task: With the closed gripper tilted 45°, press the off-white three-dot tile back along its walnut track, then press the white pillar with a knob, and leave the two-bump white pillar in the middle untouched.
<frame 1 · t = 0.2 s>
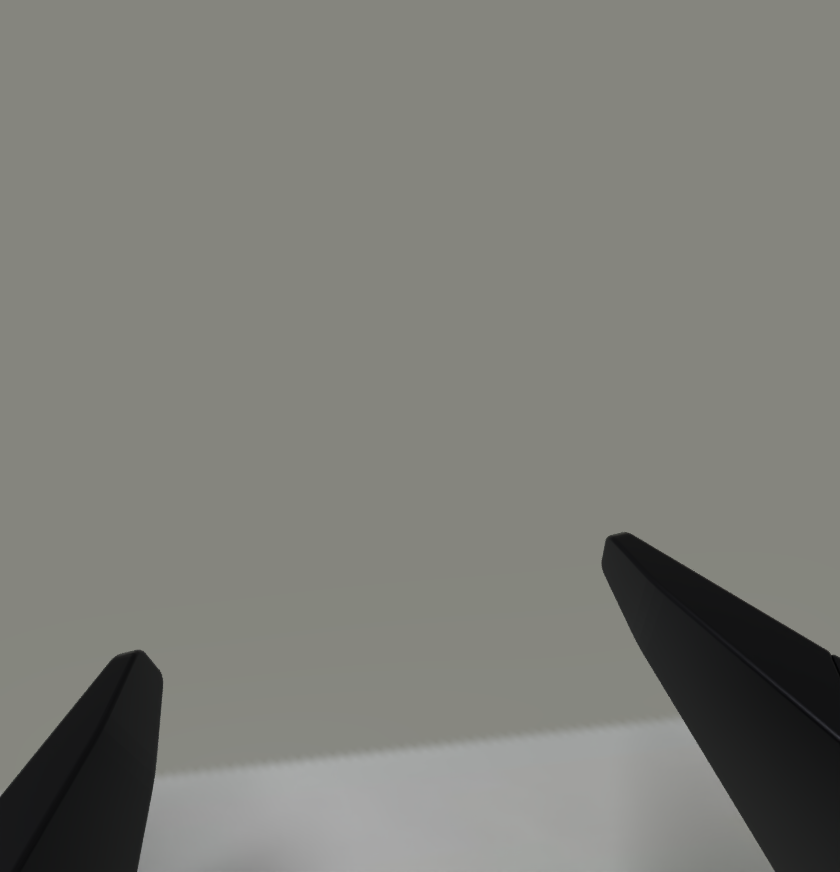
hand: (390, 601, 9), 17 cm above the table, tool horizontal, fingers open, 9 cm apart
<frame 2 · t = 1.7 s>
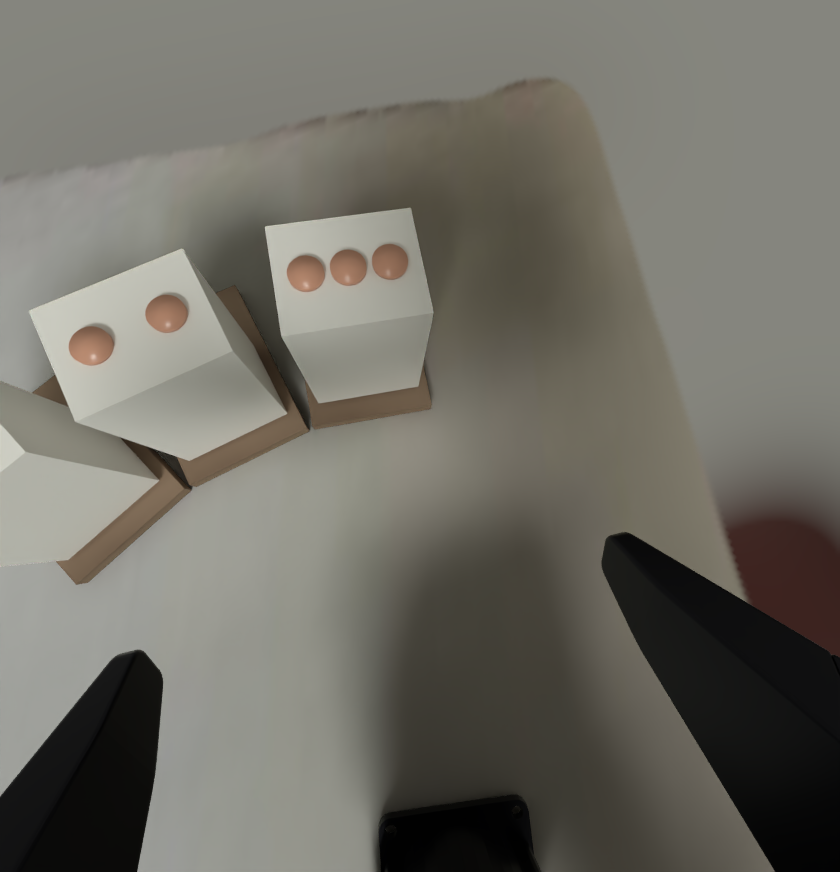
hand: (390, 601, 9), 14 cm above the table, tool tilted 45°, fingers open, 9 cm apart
white pillar with knob: (15, 478, 17), point 5 cm above the table, slide at 0.0 cm
two-bump white pillar: (185, 372, 18), point 5 cm above the table, slide at 0.0 cm
three-dot tile: (356, 321, 19), point 5 cm above the table, slide at 0.0 cm
tile tracks: (237, 426, 23), on the table
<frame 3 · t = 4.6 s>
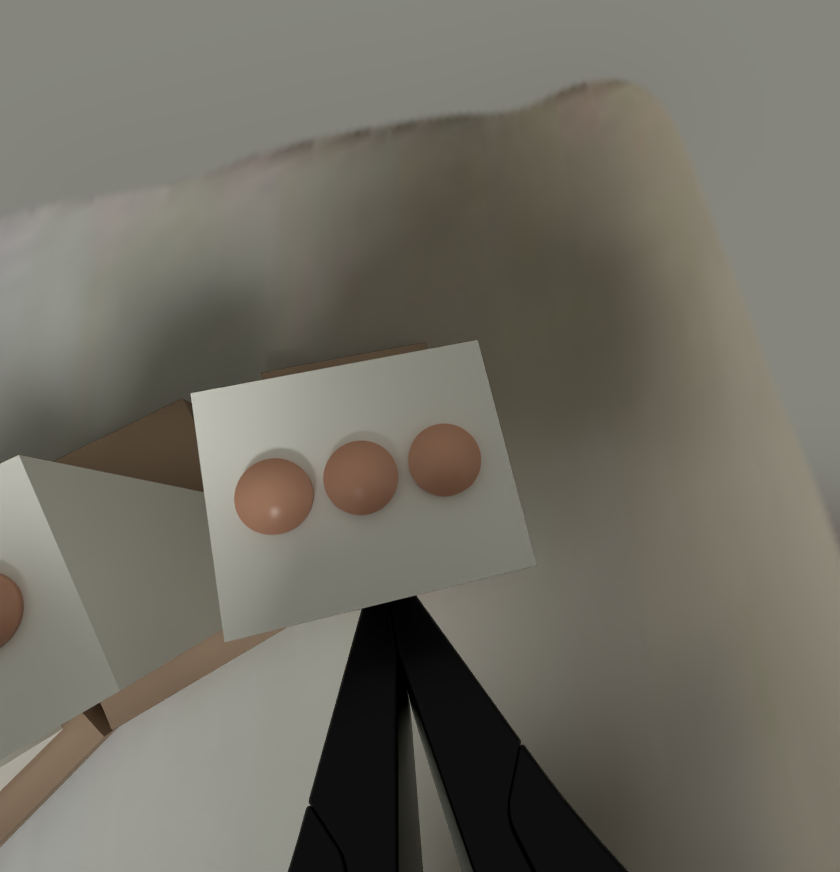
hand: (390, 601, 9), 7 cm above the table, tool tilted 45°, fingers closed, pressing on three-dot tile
two-bump white pillar: (76, 610, 10), point 5 cm above the table, slide at 0.0 cm
three-dot tile: (370, 495, 11), point 5 cm above the table, slide at 0.1 cm, touching gripper
tile tracks: (189, 616, 15), on the table
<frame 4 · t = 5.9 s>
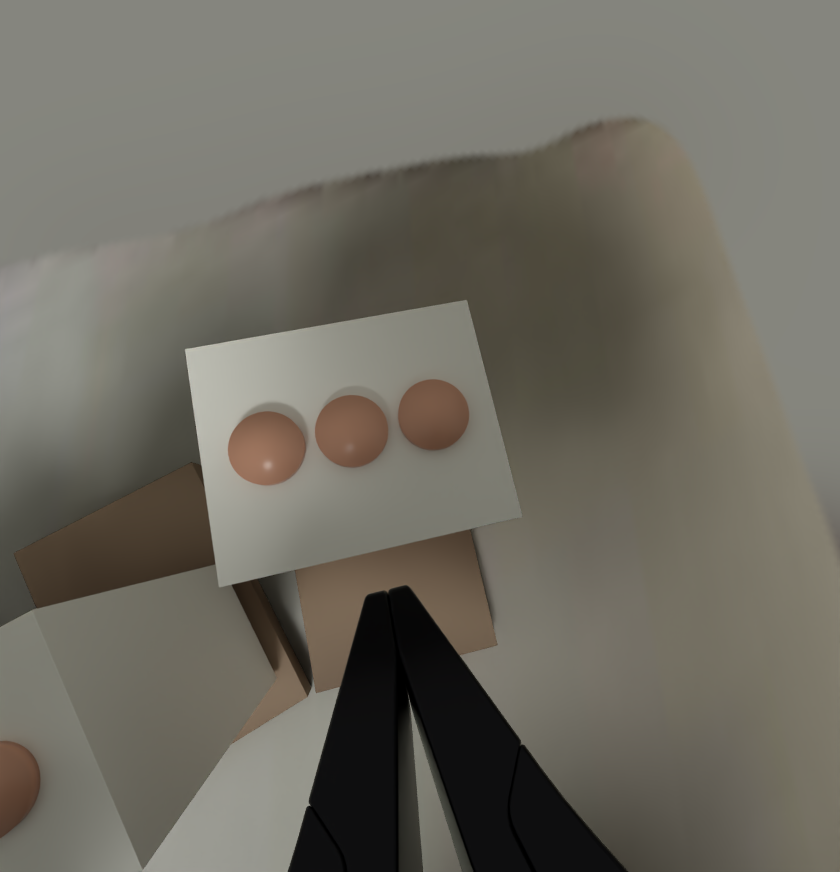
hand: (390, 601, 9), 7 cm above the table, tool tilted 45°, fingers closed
two-bump white pillar: (88, 719, 10), point 5 cm above the table, slide at 0.0 cm
three-dot tile: (363, 462, 12), point 5 cm above the table, slide at 3.3 cm
tile tracks: (200, 687, 15), on the table
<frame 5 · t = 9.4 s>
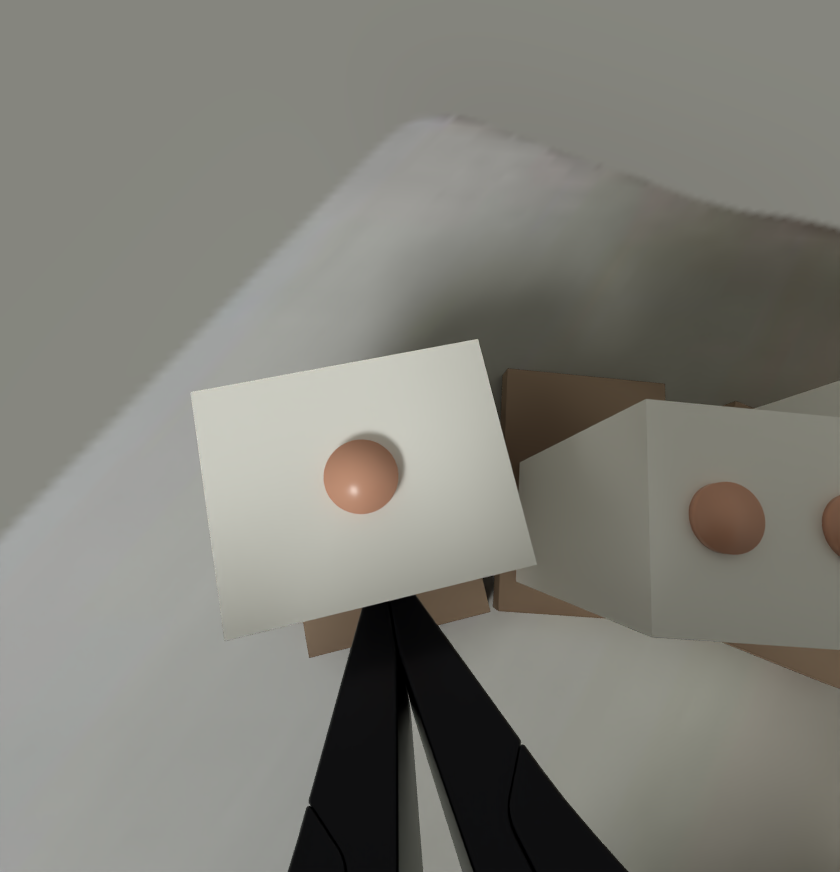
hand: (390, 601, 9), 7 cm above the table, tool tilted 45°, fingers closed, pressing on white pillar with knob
white pillar with knob: (370, 494, 11), point 5 cm above the table, slide at 1.3 cm, touching gripper
two-bump white pillar: (658, 525, 12), point 5 cm above the table, slide at 0.0 cm
tile tracks: (575, 558, 16), on the table
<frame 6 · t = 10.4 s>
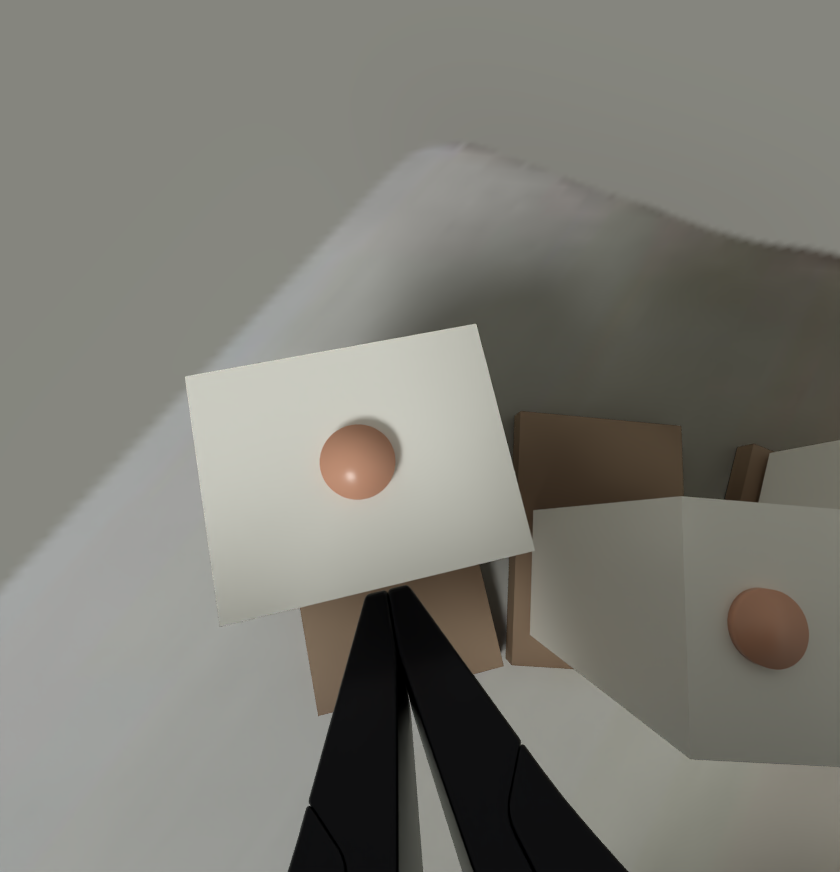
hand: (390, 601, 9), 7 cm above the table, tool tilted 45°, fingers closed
white pillar with knob: (368, 483, 11), point 5 cm above the table, slide at 3.3 cm
two-bump white pillar: (682, 594, 11), point 5 cm above the table, slide at 0.0 cm
tile tracks: (589, 606, 16), on the table
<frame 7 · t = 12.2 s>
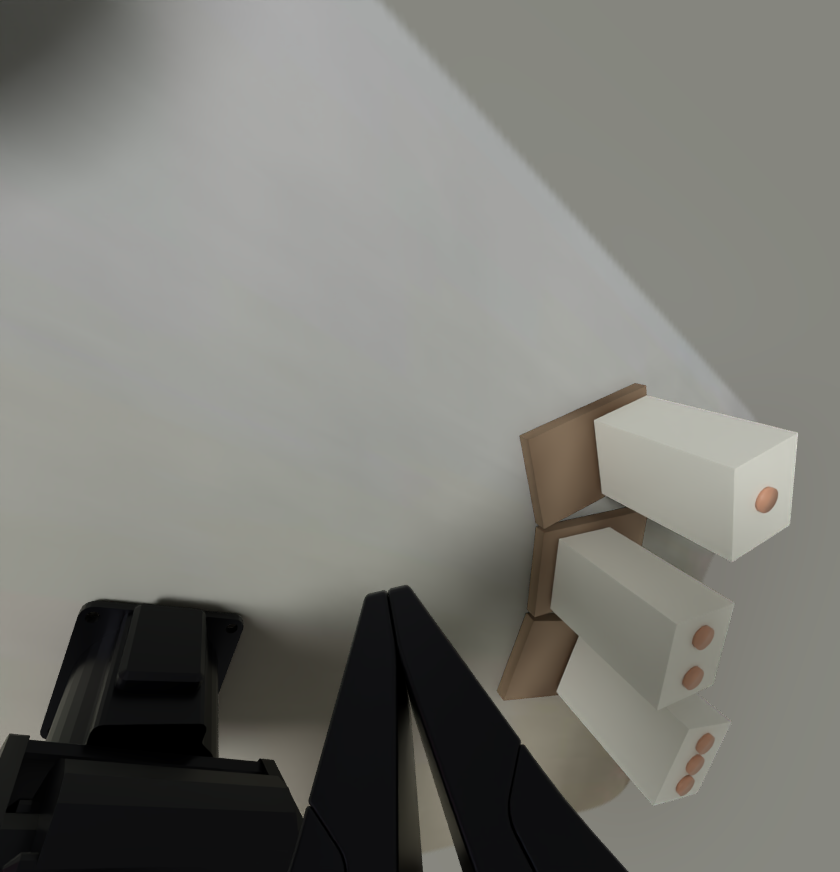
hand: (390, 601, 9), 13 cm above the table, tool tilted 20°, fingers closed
white pillar with knob: (685, 468, 24), point 5 cm above the table, slide at 3.3 cm
two-bump white pillar: (631, 607, 25), point 5 cm above the table, slide at 0.0 cm
three-dot tile: (636, 706, 29), point 5 cm above the table, slide at 3.3 cm
tile tracks: (555, 562, 29), on the table
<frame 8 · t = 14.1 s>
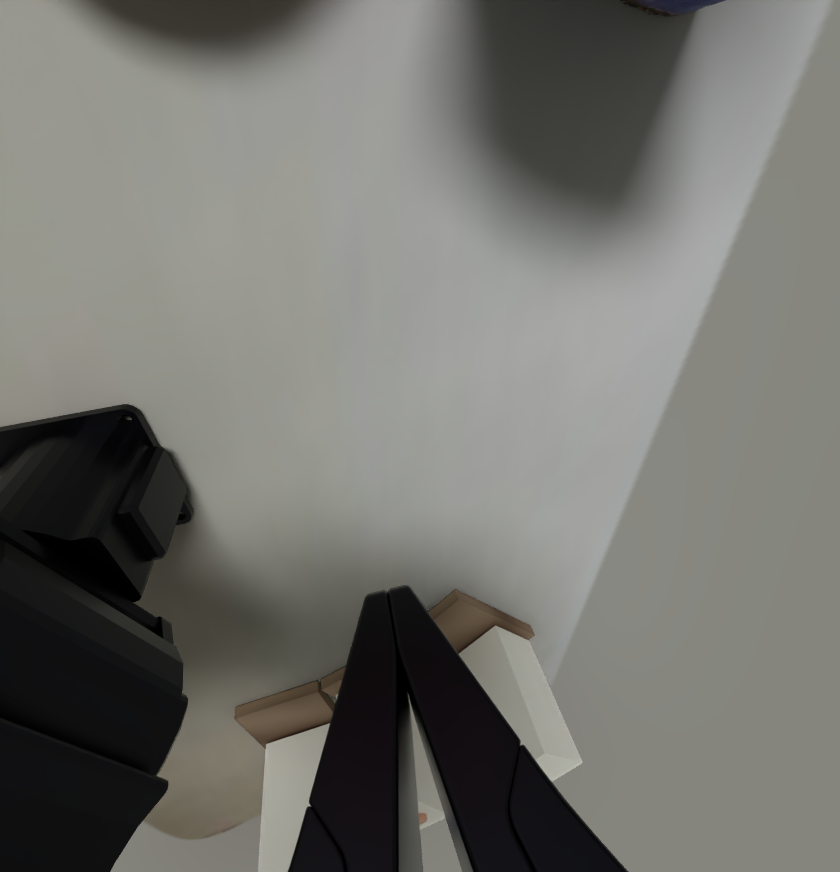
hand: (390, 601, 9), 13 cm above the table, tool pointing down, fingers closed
white pillar with knob: (507, 710, 30), point 5 cm above the table, slide at 3.3 cm
two-bump white pillar: (388, 752, 30), point 5 cm above the table, slide at 0.0 cm
three-dot tile: (308, 808, 32), point 5 cm above the table, slide at 3.3 cm
tile tracks: (371, 669, 33), on the table
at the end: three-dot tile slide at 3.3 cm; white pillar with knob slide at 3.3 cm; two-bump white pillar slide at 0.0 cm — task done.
